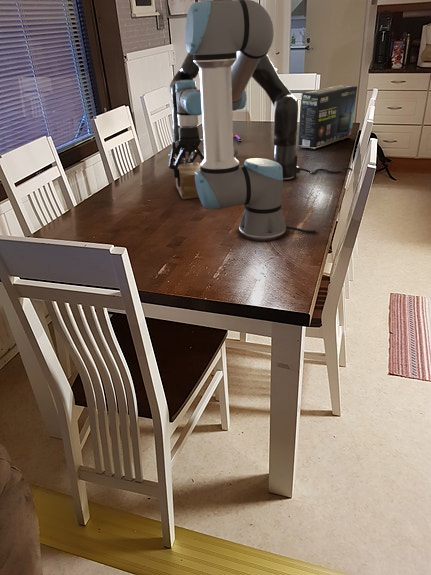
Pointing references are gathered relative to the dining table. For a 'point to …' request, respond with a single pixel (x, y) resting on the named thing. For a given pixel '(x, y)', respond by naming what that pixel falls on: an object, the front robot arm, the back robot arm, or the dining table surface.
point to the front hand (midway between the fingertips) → (192, 184)
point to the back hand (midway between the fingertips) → (184, 174)
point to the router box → (326, 115)
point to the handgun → (238, 138)
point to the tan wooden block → (188, 180)
